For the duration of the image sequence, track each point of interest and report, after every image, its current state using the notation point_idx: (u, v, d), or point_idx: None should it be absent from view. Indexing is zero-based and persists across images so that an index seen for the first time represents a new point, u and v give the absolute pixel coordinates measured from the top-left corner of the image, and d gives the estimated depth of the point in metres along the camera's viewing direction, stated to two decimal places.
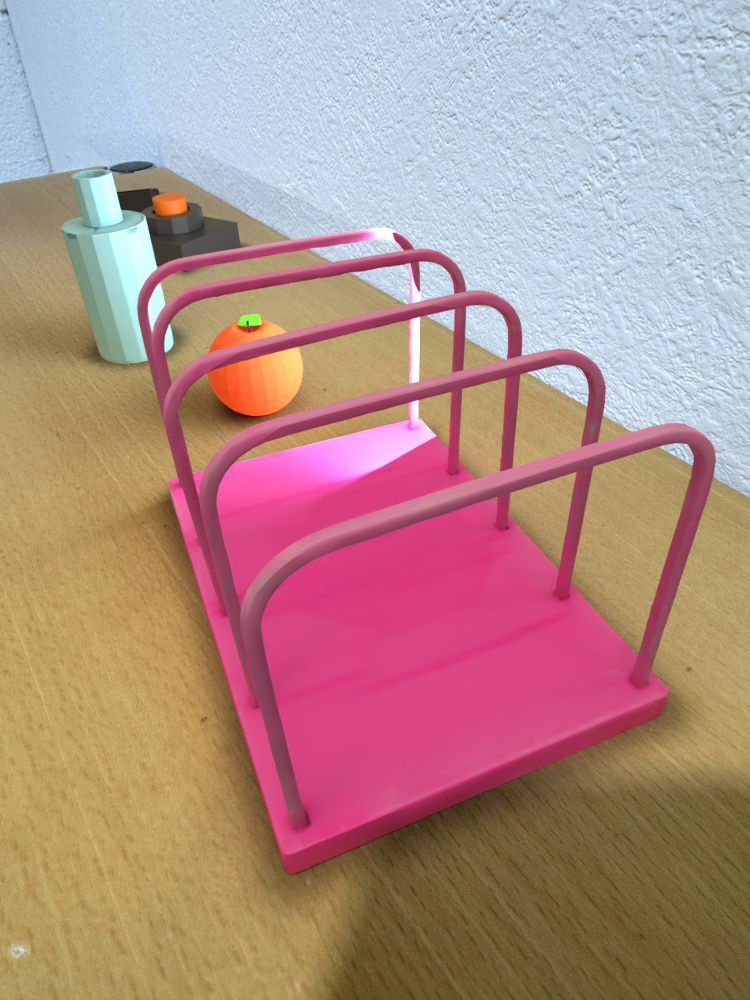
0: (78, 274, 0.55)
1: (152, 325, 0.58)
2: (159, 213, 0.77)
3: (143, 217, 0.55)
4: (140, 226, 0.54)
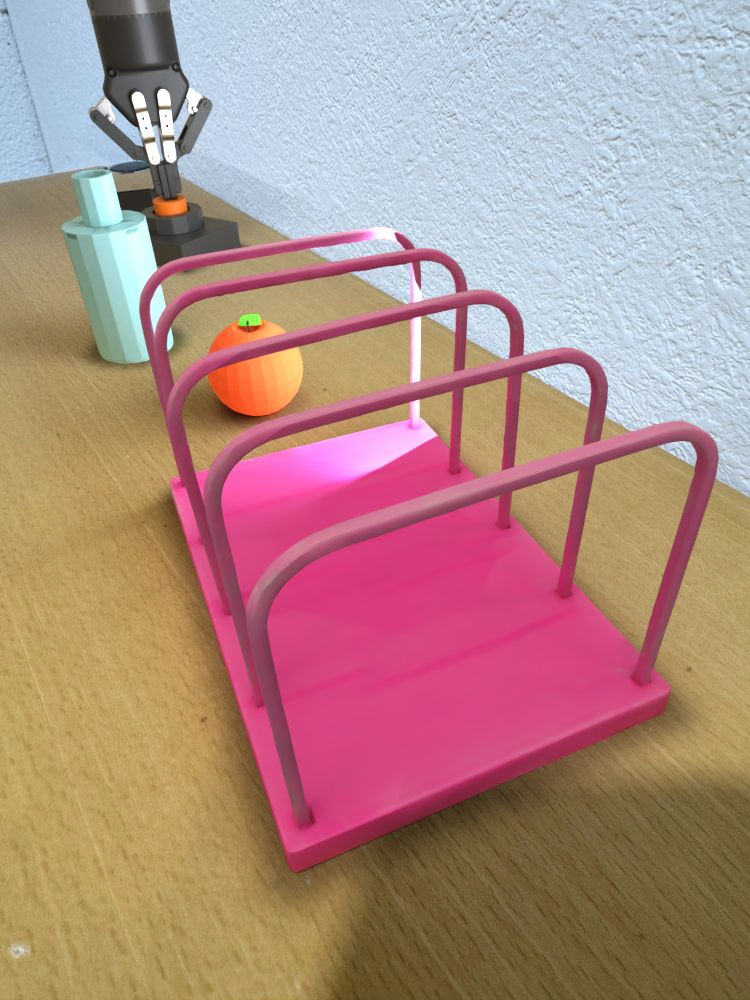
0: (78, 274, 0.55)
1: (152, 325, 0.58)
2: None
3: (143, 217, 0.55)
4: (140, 226, 0.54)
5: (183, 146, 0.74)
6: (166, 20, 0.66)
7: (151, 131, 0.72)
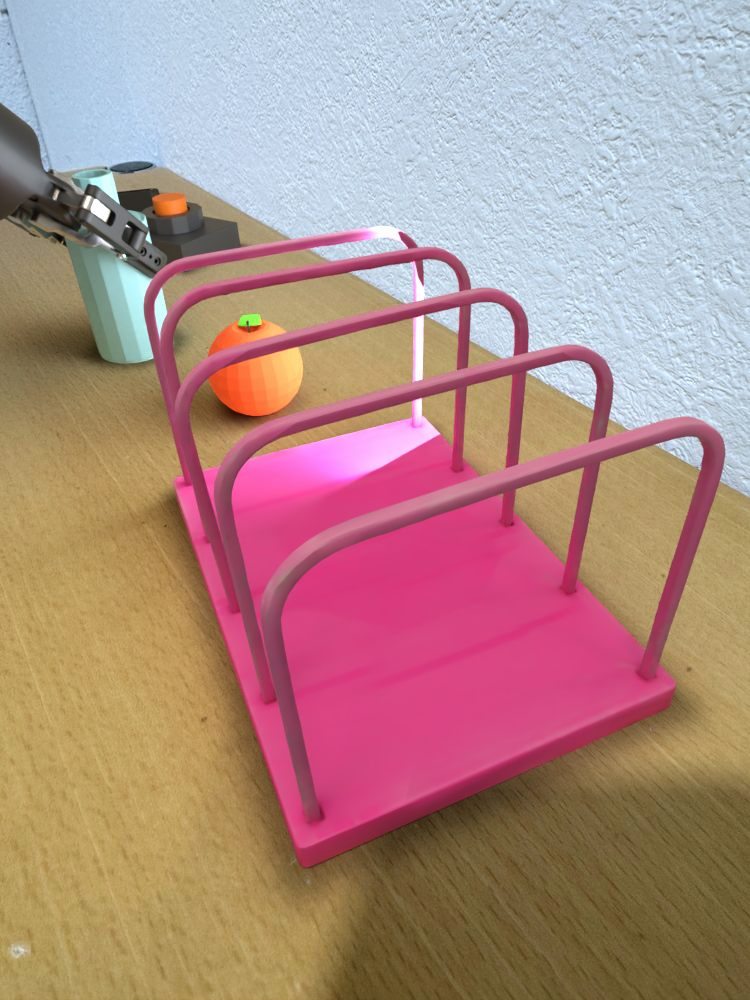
0: (78, 274, 0.55)
1: None
2: (159, 213, 0.77)
3: (143, 217, 0.55)
4: None
5: (125, 254, 0.51)
6: None
7: (41, 235, 0.53)
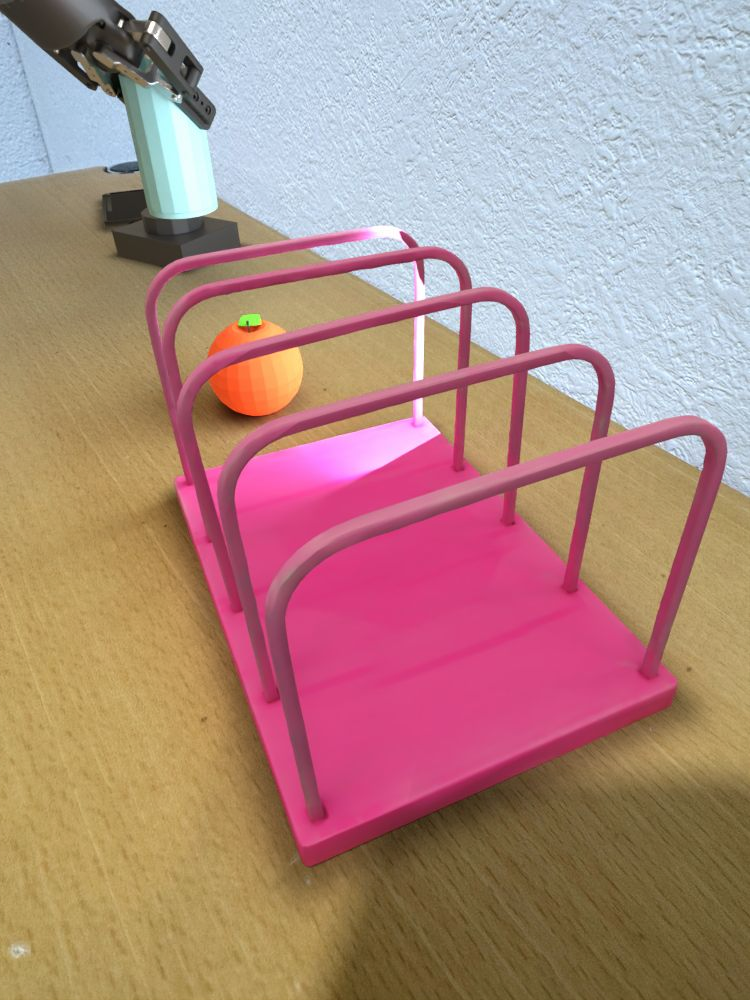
0: (133, 122, 0.58)
1: (200, 178, 0.61)
2: None
3: None
4: None
5: (181, 92, 0.54)
6: None
7: (99, 80, 0.56)
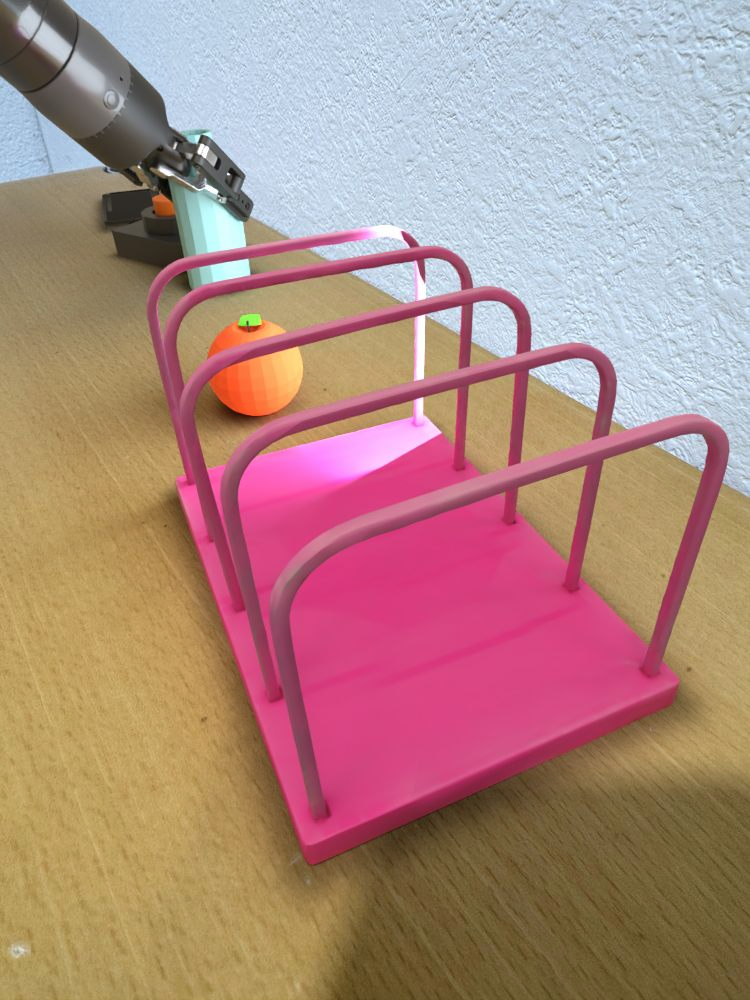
0: (180, 216, 0.66)
1: (237, 261, 0.69)
2: (159, 213, 0.77)
3: None
4: None
5: (226, 196, 0.62)
6: (114, 131, 0.54)
7: (149, 183, 0.65)
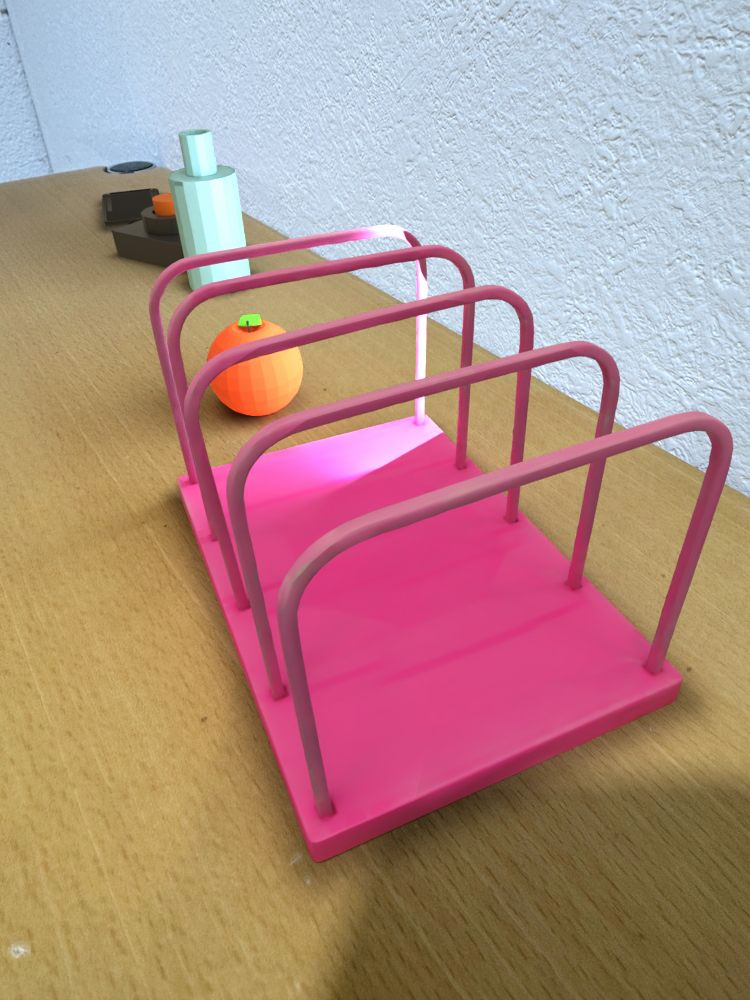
0: (180, 216, 0.66)
1: (237, 261, 0.69)
2: (159, 213, 0.77)
3: (233, 169, 0.67)
4: (233, 176, 0.66)
5: None
6: None
7: None
